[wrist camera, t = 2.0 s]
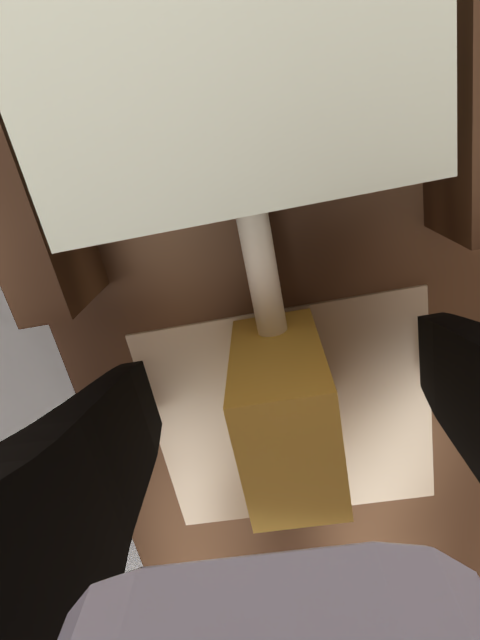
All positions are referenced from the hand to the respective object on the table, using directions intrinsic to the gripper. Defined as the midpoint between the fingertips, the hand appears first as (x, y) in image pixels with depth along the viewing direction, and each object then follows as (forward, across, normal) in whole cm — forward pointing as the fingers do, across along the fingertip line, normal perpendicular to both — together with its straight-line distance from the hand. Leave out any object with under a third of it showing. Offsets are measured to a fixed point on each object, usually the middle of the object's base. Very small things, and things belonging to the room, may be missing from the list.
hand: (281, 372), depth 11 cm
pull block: (0, 0, -4) cm, 4 cm away
